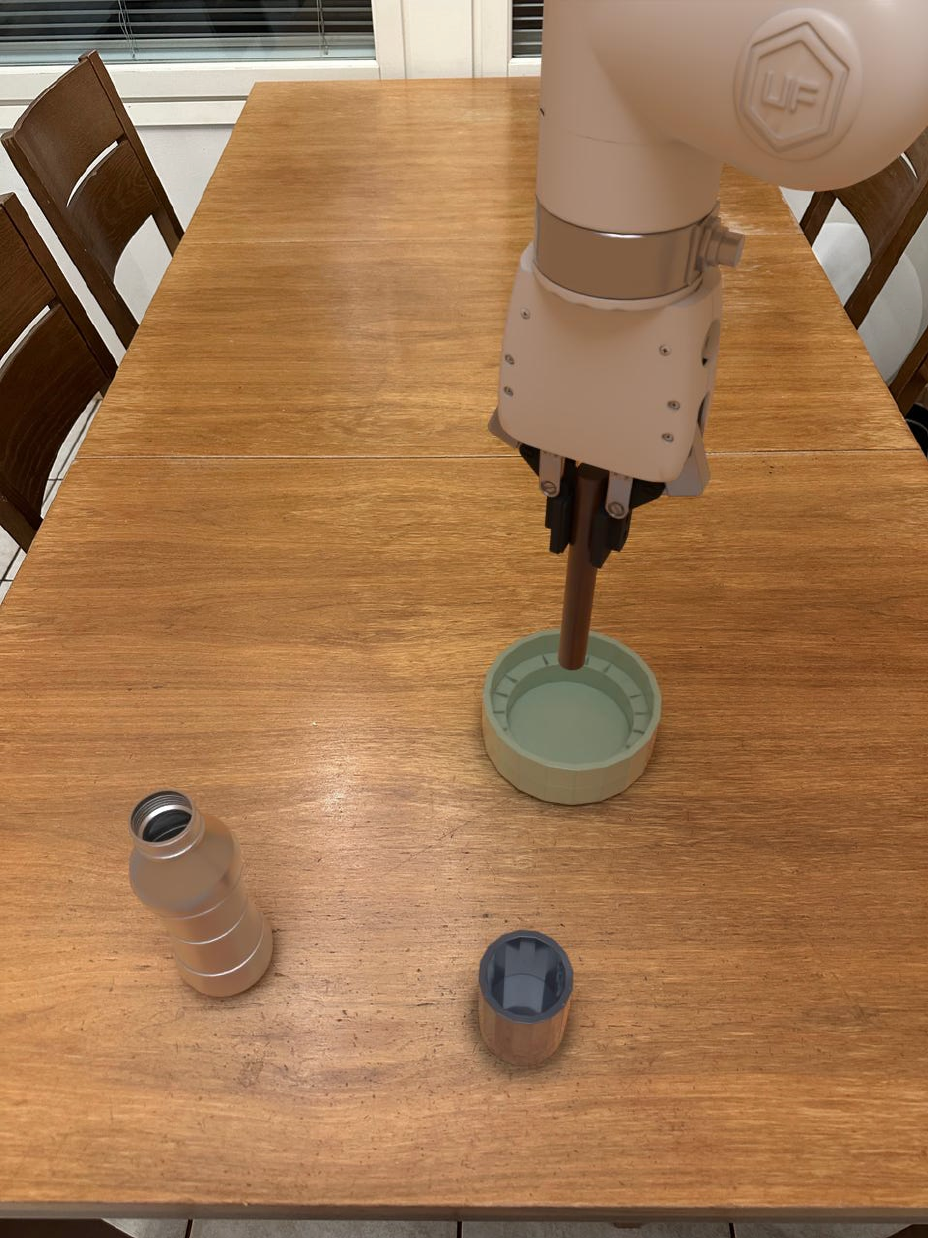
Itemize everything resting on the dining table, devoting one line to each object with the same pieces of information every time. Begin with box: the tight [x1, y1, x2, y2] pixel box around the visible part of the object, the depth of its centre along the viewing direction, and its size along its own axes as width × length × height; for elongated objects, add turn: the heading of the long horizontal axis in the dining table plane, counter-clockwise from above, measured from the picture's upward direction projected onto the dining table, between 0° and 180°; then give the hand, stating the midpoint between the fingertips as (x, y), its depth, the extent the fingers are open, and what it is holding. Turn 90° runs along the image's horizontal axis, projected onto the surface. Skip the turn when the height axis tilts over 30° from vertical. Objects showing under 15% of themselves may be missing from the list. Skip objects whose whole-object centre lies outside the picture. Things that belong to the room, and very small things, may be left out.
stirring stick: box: [558, 462, 611, 671], centre depth 56 cm, size 2×2×16 cm
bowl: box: [481, 627, 663, 806], centre depth 78 cm, size 14×14×6 cm
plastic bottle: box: [127, 788, 274, 998], centre depth 60 cm, size 6×7×20 cm
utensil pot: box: [477, 929, 574, 1067], centre depth 61 cm, size 6×6×8 cm
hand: (584, 543), depth 54 cm, fingers closed on stirring stick, 1 cm apart
